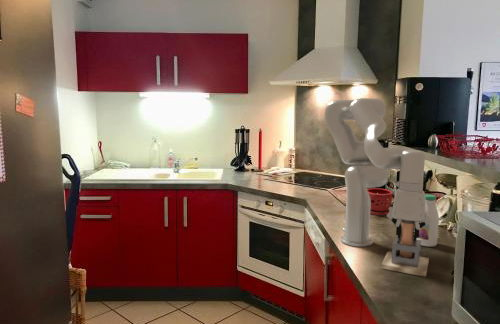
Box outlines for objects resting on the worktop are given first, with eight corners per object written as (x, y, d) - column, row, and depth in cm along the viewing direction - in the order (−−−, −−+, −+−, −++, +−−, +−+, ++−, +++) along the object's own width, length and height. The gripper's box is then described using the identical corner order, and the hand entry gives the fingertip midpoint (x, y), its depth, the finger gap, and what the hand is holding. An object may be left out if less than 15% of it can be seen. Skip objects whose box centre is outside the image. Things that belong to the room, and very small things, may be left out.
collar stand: (381, 268, 137) (382, 244, 136) (387, 255, 149) (388, 233, 148) (425, 276, 131) (427, 251, 129) (428, 262, 143) (430, 239, 142)
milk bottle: (431, 240, 166) (434, 193, 163) (440, 247, 158) (444, 197, 155) (412, 240, 166) (416, 193, 163) (421, 247, 158) (424, 197, 155)
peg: (396, 259, 141) (399, 215, 139) (406, 258, 142) (409, 214, 140) (404, 264, 137) (407, 218, 135) (414, 262, 138) (417, 217, 136)
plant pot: (359, 211, 210) (360, 189, 209) (378, 209, 216) (379, 187, 214) (376, 218, 199) (378, 194, 197) (396, 215, 204) (398, 192, 202)
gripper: (382, 186, 136) (379, 237, 139) (437, 191, 129) (433, 246, 131) (386, 182, 143) (383, 231, 146) (438, 187, 135) (434, 239, 138)
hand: (407, 238), depth 139 cm, fingers open, 4 cm apart
